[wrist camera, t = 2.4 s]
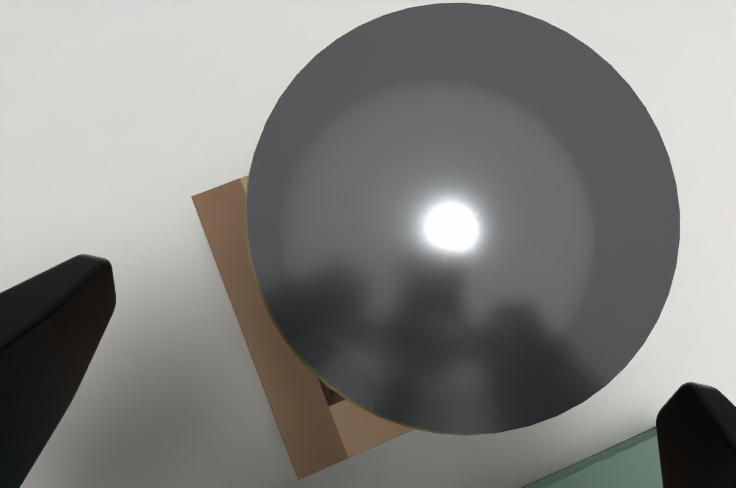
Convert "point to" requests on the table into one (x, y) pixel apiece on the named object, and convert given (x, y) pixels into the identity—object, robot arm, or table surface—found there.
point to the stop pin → (462, 219)
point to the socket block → (284, 352)
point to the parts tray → (613, 467)
